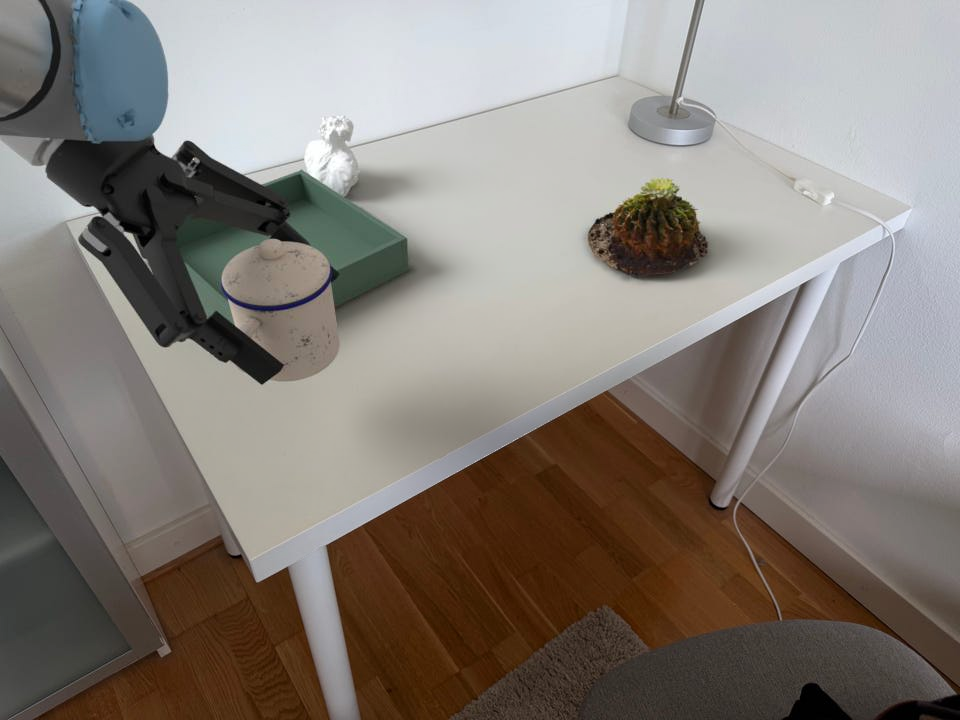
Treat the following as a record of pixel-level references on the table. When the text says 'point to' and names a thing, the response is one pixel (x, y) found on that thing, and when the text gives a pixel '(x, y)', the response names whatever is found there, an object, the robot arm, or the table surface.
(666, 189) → the cactus
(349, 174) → the bust
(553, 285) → the table surface
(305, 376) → the teacup with lid
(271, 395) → the table surface
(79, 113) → the robot arm
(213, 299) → the tray
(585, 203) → the table surface
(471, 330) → the table surface
